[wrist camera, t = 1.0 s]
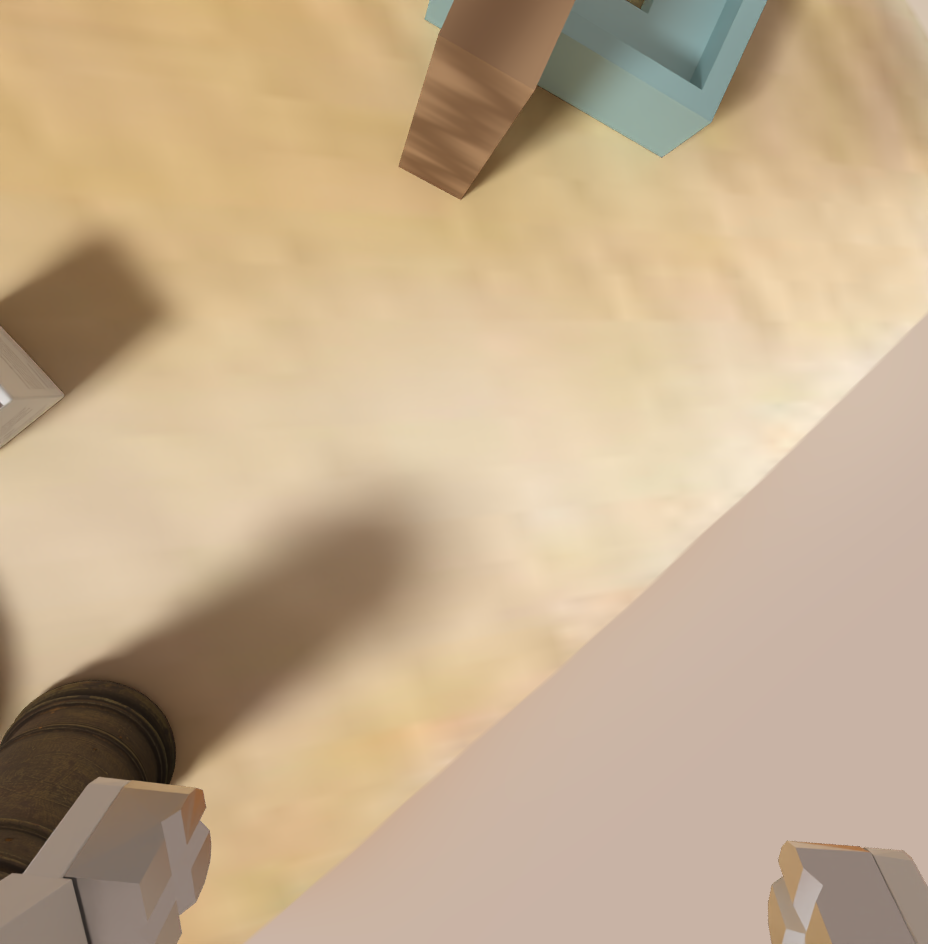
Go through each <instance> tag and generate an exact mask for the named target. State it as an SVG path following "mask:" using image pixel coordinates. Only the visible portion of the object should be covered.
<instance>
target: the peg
mask: <svg viewBox="0 0 928 944" xmlns="http://www.w3.org/2000/svg"><path fill="white" fill-rule="evenodd" d="M574 2H575V0H454V1H453V3H452V6H451V8H450V10H449V12H448V15H447V17H446V19H445V21H444V23H443V26H442V28H441V30H440V32H439V35H438V38H437V41H436V44H435V48H434V51H433V54H432V58H431V61H430V64H429V67H428V71H427V74H426V77H425V81H424V84H423V87H422V91H421V94H420V97H419V100H418V104H417V107H416V110H415V114H414V117H413V120H412V124H411V127H410V130H409V133H408V137H407V140H406V143H405V147H404V150H403V153H402V157H401V160H400V163H399V167H400V168H402V169H404V170H406V171H408V172H410V173H412V174H414V175H415V176H417V177H419V178H421V179H423V180H425V181H427V182H429V183H430V184H432V185H434V186H436V187H438V188H440V189H442V190H444V191H445V192H447V193H449V194H451V195H453V196H455V197H457V198H458V199H460V200H461V199H462V197H463V196H464V194H465V193H466V191H467V190H468V188H469V187H470V185H471V184H472V182H473V181H474V179H475V178H476V176H477V175H478V173H479V172H480V171H481V169H482V168H483V166H484V165H485V163H486V162H487V160H488V159H489V157H490V156H491V154H492V153H493V151H494V150H495V148H496V147H497V145H498V144H499V142H500V141H501V139H502V138H503V136H504V135H505V134H506V132H507V131H508V129H509V128H510V126H511V125H512V123H513V122H514V120H515V119H516V117H517V116H518V114H519V113H520V111H521V110H522V108H523V107H524V105H525V104H526V102H527V101H528V100H529V98H530V97H531V95H532V94H533V92H534V91H535V89H536V86H537V84H538V82H539V80H540V77H541V75H542V73H543V71H544V69H545V66H546V64H547V62H548V60H549V58H550V55H551V53H552V51H553V49H554V47H555V44H556V42H557V40H558V38H559V36H560V33H561V31H562V29H563V27H564V25H565V22H566V20H567V18H568V16H569V13H570V11H571V9H572V7H573V5H574Z"/></svg>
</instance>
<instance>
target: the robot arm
mask: <svg viewBox="0 0 928 944" xmlns="http://www.w3.org/2000/svg"><path fill="white" fill-rule="evenodd" d="M205 809H206V804H205V799H204V794H203V790H201V789H198V788H193V787H185V786H177V785H168V784H160V783H152V782H143V781H135V780H132V781H131V780H122V779H113V778H104V777H98V778H97V779H95V780H94V781H92V782H91V783H89V784H88V785H87V786H86V788H85V789H84V790H83V792H82V793H81V795H80V796H79V797H78V799H77V800H76V801H75V803H74V804H73V806H72V807H71V808H70V810H69V811H68V812H67V814H66V815H65V817H64V818H63V819H62V821H61V822H60V823H59V825H58V826H57V827H56V829H55V830H54V832H53V833H52V834H51V836H50V837H49V838H48V840H47V841H46V843H45V844H44V845H43V847H42V848H41V849H40V851H39V852H38V853H37V855H36V856H35V858H34V859H33V860H32V862H31V863H30V864H29V866H28V867H27V869H26V870H25V871H24V873H23V874H16V873H12V874H10V875H9V876H7V877H5V878H4V879H2V880H0V944H177V942H178V940H179V938H180V936H181V934H182V931H181V925H180V919H179V915H180V914H182V913H183V912H184V911H185V910H187V909H188V908H189V907H191V906H192V905H193V904H194V903H196V901H197V899H198V897H199V894H200V892H201V890H202V888H203V885H204V883H205V879H206V875H207V871H208V868H209V864H210V858H211V837H210V830H209V829H208V828H207V827H206V826H205V825H204V824H203V823H202V822H201V821H200V819H201V817H202V815H203V813H204V811H205ZM778 862H779V865H780V868H781V871H782V874H783V877H781V878H780V879H779V880H777V881H776V882H774V883H773V884H772V886H771V891H770V897H769V900H768V925H769V931H770V936H771V943H772V944H928V886H927V885H926V883H925V881H924V879H923V877H922V876H921V874H920V872H919V870H918V868H917V867H916V865H915V863H914V861H913V859H912V858H911V857H910V856H909V855H908V854H907V853H906V852H905V851H903V850H891V849H879V848H867V847H864V848H861V847H860V846H848V845H835V844H822V843H810V842H797V841H786V843H785V844H784V845H783V846H782V848H781V852H780V855H779V859H778Z"/></svg>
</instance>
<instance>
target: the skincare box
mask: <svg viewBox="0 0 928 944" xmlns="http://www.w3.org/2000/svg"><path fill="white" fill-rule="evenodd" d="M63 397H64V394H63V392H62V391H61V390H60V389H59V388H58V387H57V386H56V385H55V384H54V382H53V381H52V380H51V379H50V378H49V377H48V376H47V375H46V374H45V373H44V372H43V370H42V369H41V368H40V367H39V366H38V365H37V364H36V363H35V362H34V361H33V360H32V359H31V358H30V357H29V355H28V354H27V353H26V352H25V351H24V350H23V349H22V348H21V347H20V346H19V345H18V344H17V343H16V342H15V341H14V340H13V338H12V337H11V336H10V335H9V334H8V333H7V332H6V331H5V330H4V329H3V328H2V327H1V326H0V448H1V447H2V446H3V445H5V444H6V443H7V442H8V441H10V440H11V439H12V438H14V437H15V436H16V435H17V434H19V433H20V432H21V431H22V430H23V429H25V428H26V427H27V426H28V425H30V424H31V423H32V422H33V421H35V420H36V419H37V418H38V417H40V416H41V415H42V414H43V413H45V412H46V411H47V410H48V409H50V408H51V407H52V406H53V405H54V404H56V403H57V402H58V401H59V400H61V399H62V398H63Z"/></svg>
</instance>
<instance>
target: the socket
mask: <svg viewBox="0 0 928 944" xmlns="http://www.w3.org/2000/svg"><path fill="white" fill-rule="evenodd" d="M453 1H454V0H430V1H429V5H428V8H427V12H426V16H425V20H427V21H428V22H430V23H432V24H434V25H435V26H437V27H439V28H440V29H441V28H442V26H443V23H444V21H445V19H446V17H447V15H448V12H449V10H450V8H451V6H452V3H453ZM766 2H767V0H644V2H643V4H642V7H641V9H639V8H637V7H636V6H634V5H633V4H631V3H630V2H628V1H626V0H575V2H574V5H573V7H572V9H571V11H570V13H569V16H568V18H567V20H566V22H565V25H564V27H563V29H562V31H561V33H560V36H559V38H558V40H557V42H556V44H555V47H554V49H553V51H552V53H551V55H550V58H549V60H548V62H547V64H546V66H545V69H544V71H543V73H542V75H541V77H540V80H539V82H538V84H537V85H538V86H540V87H542V88H543V89H545V90H547V91H549V92H550V93H552V94H554V95H555V96H557V97H559V98H561V99H562V100H564V101H566V102H567V103H569V104H571V105H573V106H574V107H576V108H578V109H579V110H581V111H583V112H585V113H586V114H588V115H590V116H591V117H593V118H595V119H597V120H598V121H600V122H602V123H603V124H605V125H607V126H609V127H610V128H612V129H614V130H615V131H617V132H619V133H621V134H622V135H624V136H626V137H627V138H629V139H631V140H633V141H634V142H636V143H638V144H639V145H641V146H643V147H645V148H646V149H648V150H650V151H651V152H653V153H655V154H657V155H658V156H660V157H663V156H665V155H666V154H667V153H669V152H670V151H672V150H673V149H674V148H676V147H677V146H679V145H680V144H682V143H683V142H684V141H686V140H687V139H689V138H690V137H691V136H693V135H694V134H696V133H697V132H698V131H700V130H701V129H703V128H704V127H705V126H707V125H708V124H710V123H711V122H712V120H713V117H714V115H715V113H716V111H717V109H718V107H719V104H720V102H721V100H722V98H723V96H724V93H725V91H726V89H727V87H728V85H729V83H730V80H731V78H732V76H733V74H734V72H735V69H736V67H737V65H738V63H739V61H740V59H741V56H742V54H743V52H744V50H745V48H746V46H747V43H748V41H749V39H750V37H751V35H752V32H753V30H754V28H755V26H756V24H757V22H758V19H759V17H760V15H761V13H762V11H763V8H764V6H765V4H766Z"/></svg>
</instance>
